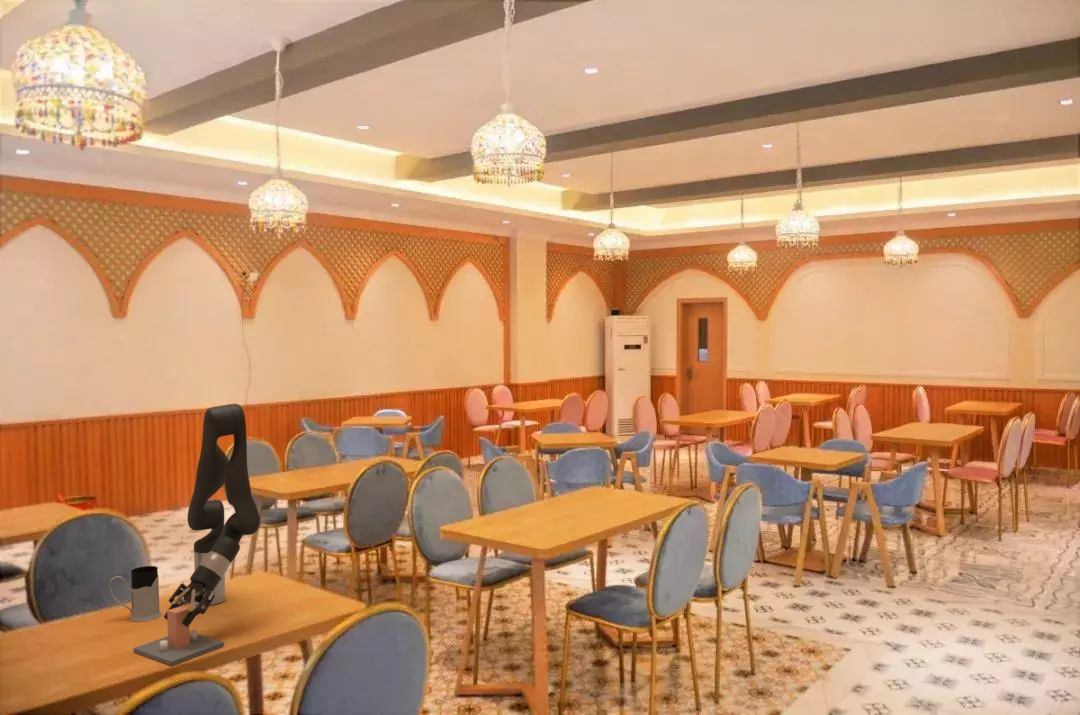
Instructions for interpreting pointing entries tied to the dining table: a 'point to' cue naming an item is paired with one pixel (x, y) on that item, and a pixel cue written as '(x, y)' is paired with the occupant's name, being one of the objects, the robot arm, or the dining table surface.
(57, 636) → the dining table surface
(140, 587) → the glass holder
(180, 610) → the block
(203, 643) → the base plate
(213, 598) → the robot arm
